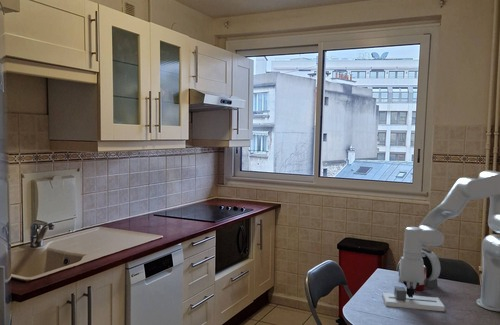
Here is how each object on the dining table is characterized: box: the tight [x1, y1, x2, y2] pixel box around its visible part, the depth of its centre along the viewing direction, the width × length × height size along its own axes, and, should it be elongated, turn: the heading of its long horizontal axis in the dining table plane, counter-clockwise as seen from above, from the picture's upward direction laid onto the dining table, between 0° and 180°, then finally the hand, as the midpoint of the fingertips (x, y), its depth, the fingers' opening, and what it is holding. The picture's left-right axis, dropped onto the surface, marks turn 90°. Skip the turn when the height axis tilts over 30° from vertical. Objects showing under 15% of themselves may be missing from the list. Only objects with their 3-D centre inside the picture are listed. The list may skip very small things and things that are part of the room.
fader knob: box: [393, 286, 407, 300], centre depth 183 cm, size 4×5×4 cm
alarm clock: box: [422, 246, 442, 289], centre depth 208 cm, size 16×10×18 cm, turn 28°
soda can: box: [410, 266, 427, 294], centre depth 199 cm, size 7×7×12 cm
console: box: [381, 292, 446, 312], centre depth 182 cm, size 24×10×2 cm, turn 80°
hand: (410, 296), depth 182 cm, fingers closed
